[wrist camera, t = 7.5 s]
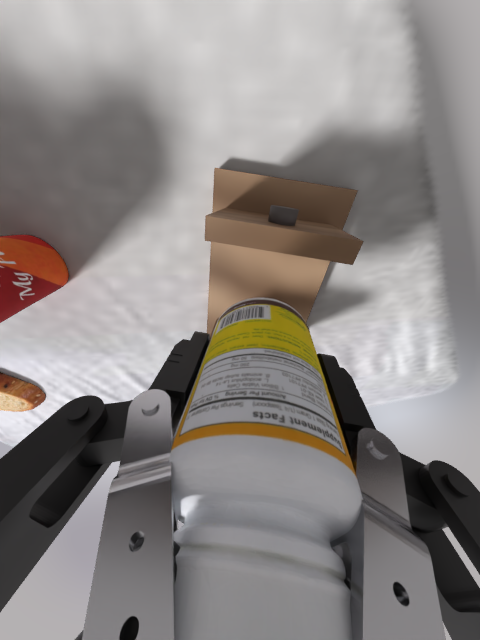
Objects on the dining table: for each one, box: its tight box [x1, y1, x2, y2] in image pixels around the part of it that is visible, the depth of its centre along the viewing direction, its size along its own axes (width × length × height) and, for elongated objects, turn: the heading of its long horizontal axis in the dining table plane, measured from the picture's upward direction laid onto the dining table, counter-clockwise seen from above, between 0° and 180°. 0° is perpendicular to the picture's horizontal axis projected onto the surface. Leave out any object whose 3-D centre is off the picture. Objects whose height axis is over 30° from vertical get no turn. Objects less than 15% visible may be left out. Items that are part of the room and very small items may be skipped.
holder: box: [205, 168, 363, 339], centre depth 16 cm, size 16×10×7 cm, turn 173°
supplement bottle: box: [169, 298, 363, 640], centre depth 8 cm, size 6×6×10 cm
